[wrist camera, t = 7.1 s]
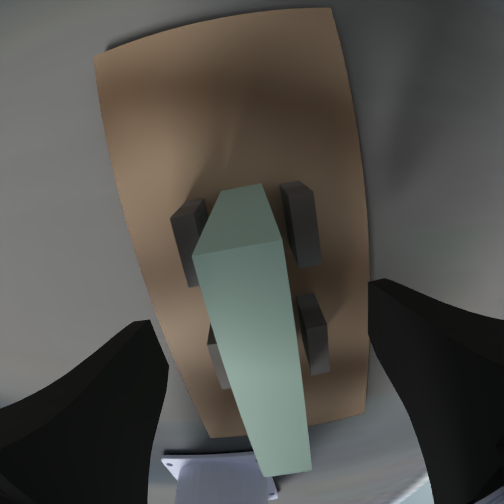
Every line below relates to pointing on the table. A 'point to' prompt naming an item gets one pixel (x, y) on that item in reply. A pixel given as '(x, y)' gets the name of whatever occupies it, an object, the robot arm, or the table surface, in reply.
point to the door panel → (255, 325)
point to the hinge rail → (245, 174)
